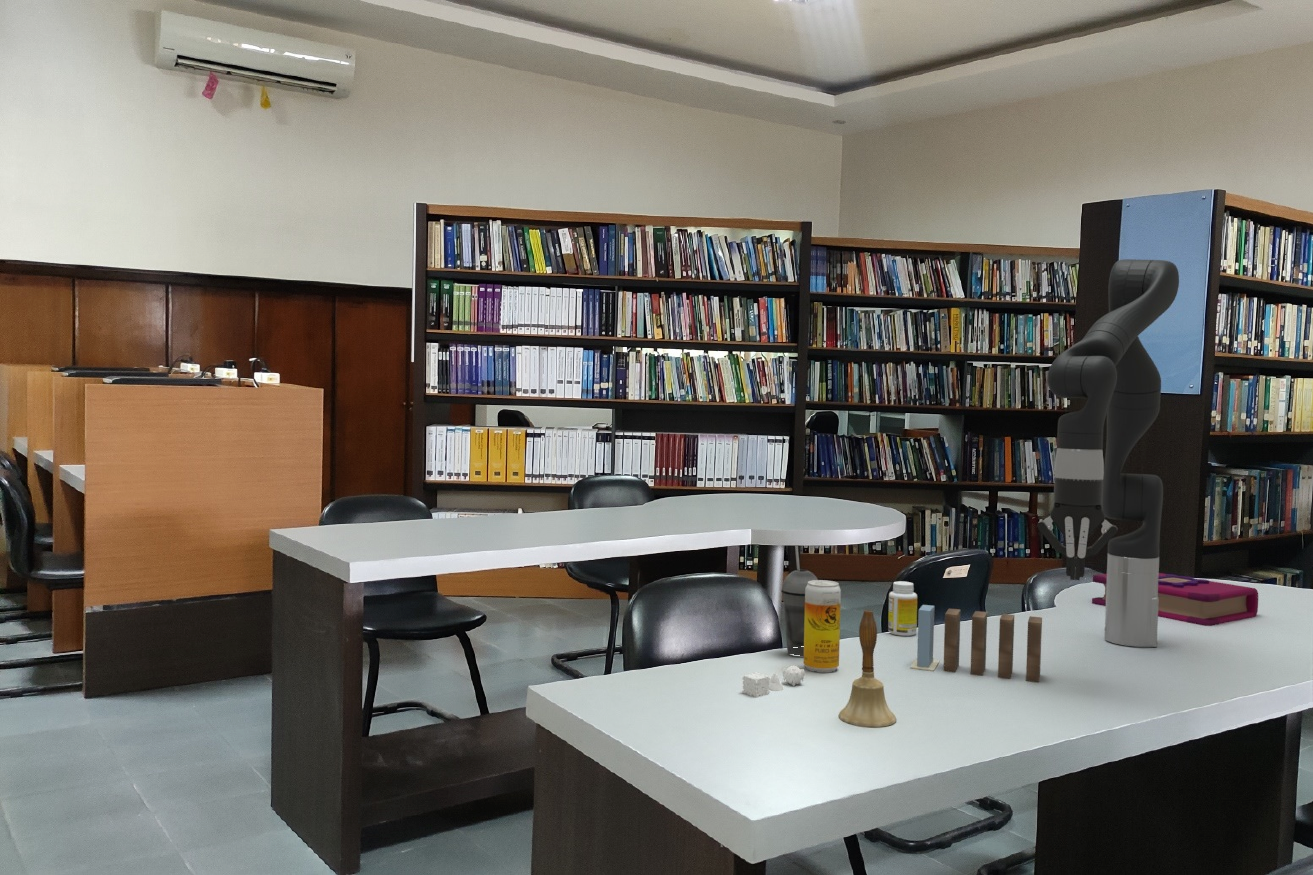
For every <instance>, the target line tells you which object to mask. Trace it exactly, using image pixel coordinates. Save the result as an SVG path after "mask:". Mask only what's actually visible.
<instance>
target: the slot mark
mask: <svg viewBox="0 0 1313 875" xmlns="http://www.w3.org/2000/svg"><path fill="white" fill-rule="evenodd" d="M939 663H940V660H938V659H933V662H932V663H931V665H930V667H929V668H926V667H917V657H916V658H915V660H914V661H913V663H912V664H911V665H910V669H915V670H922V671H923V670H924V671H929V672H934V671H935V669H936V668H937V667H938V665H939Z"/></svg>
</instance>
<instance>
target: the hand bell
mask: <svg viewBox="0 0 1313 875" xmlns="http://www.w3.org/2000/svg"><path fill="white" fill-rule="evenodd" d="M859 623H860V624H859V628H858V629H859V630H858V637H859V644H860V648H861V652H862V659H861V660H862V663H861V671H862V672H861V673H862V675H861V676H860V677H859V678H857V679H854V680H853V681H852V686H851V691H850V696H849V698H848V701H847V703H846V705H845V706H844V707H843V708H841V710H840V711H839V712H838V718H839V719H840V721H842V722H844V723H847V724H849V725H853V726H856V727H863V728H884V727H889V726H891V725H894V724H895V723H896V722H897V718H896V715H895V714H894V713H893V711H891V709H890V707H889V705H888V703H887V700H886V696H885V688H884V683H883V682H882V681H881V680H879V679H877V678H876V677H875V671H874V670H875V668H874V653H875V652H874V651H875V647H876V645H877V638H878V626H877V622H876V619H875V617H874V612H873V610H871V609H865V610H863V614H862V616H861V620H860V622H859Z"/></svg>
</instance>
